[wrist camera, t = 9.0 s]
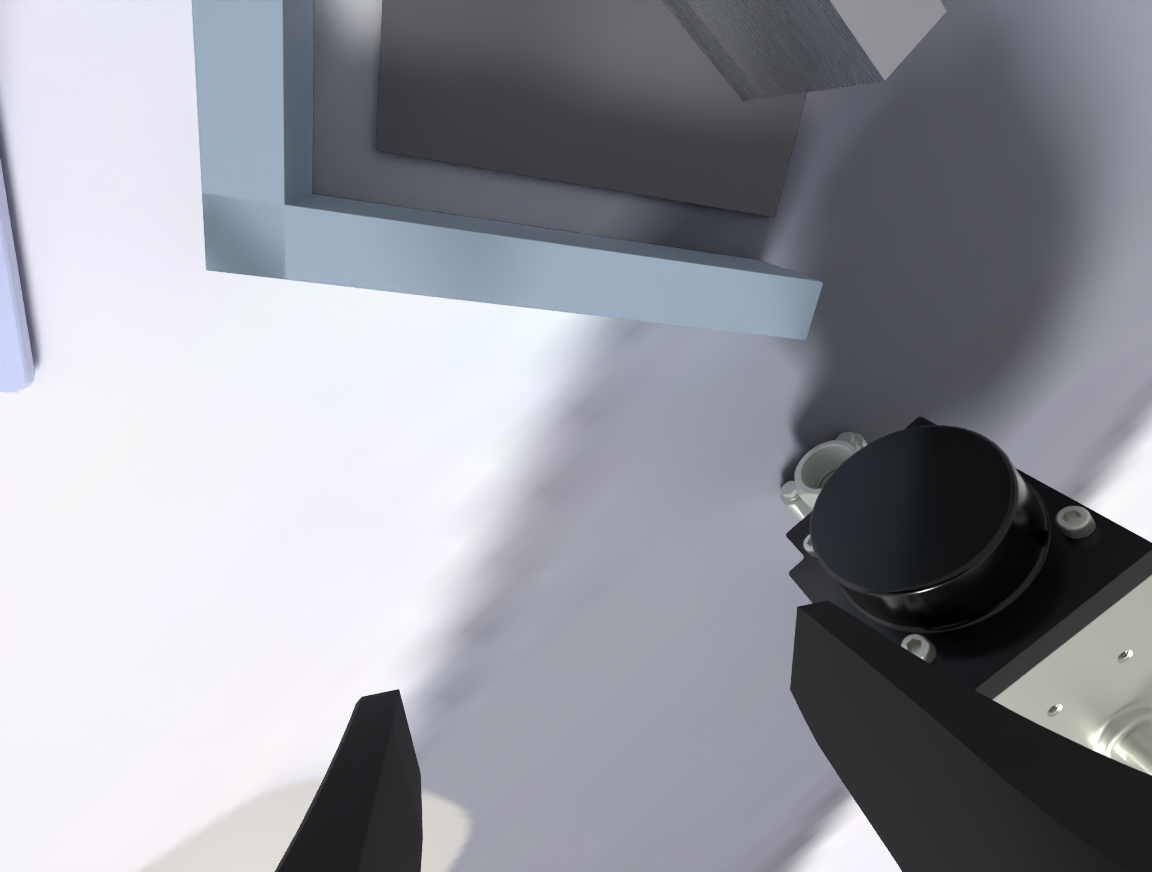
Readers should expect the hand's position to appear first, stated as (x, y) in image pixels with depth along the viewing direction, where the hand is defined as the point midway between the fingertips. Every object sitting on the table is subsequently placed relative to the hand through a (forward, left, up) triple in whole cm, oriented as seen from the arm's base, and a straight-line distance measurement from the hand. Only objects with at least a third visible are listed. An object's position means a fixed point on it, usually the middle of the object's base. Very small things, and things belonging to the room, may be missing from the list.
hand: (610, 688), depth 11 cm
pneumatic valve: (+11, -1, -10) cm, 15 cm away
